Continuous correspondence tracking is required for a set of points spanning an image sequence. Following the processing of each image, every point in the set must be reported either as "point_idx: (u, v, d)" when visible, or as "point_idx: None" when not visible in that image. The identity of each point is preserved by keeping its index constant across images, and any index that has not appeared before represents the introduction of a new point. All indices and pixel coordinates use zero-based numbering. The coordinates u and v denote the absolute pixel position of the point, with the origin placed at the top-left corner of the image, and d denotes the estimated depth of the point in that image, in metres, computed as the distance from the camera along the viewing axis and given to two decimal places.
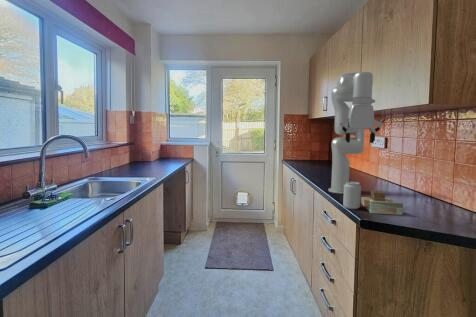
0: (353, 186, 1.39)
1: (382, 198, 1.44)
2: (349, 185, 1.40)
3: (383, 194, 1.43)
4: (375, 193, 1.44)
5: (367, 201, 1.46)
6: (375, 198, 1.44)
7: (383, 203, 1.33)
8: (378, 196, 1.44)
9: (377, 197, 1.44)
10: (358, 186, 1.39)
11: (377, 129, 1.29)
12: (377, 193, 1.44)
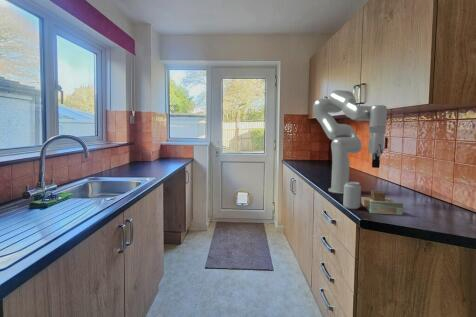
0: (353, 186, 1.39)
1: (382, 198, 1.44)
2: (349, 185, 1.40)
3: (383, 194, 1.43)
4: (375, 193, 1.44)
5: (367, 201, 1.46)
6: (375, 198, 1.44)
7: (383, 203, 1.33)
8: (378, 196, 1.44)
9: (377, 197, 1.44)
10: (358, 186, 1.39)
11: None
12: (377, 193, 1.44)
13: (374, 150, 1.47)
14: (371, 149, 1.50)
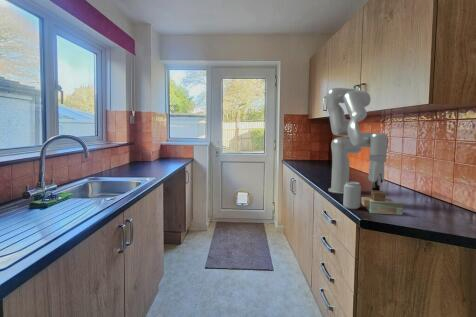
0: (353, 186, 1.39)
1: (382, 198, 1.43)
2: (349, 185, 1.40)
3: (383, 194, 1.43)
4: (375, 193, 1.43)
5: (367, 201, 1.46)
6: (375, 198, 1.44)
7: (383, 203, 1.33)
8: (378, 196, 1.43)
9: (377, 197, 1.43)
10: (358, 186, 1.39)
11: None
12: (377, 193, 1.43)
13: (374, 179, 1.45)
14: (371, 177, 1.48)
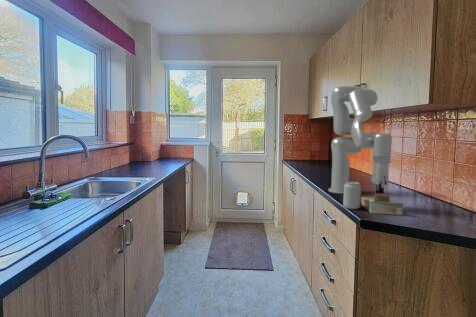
0: (353, 186, 1.39)
1: (386, 201, 1.37)
2: (349, 185, 1.40)
3: (387, 197, 1.37)
4: (379, 196, 1.37)
5: (367, 201, 1.46)
6: (379, 201, 1.38)
7: (383, 203, 1.33)
8: (382, 199, 1.37)
9: (381, 200, 1.37)
10: (358, 186, 1.39)
11: None
12: (381, 196, 1.37)
13: (378, 181, 1.39)
14: (375, 180, 1.42)
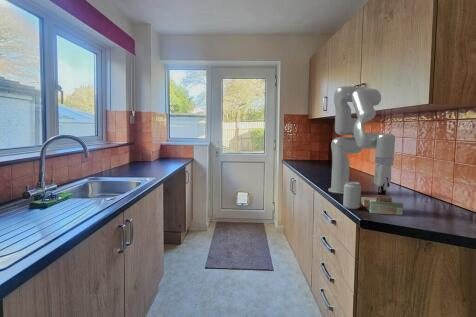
0: (353, 186, 1.39)
1: None
2: (349, 185, 1.40)
3: (389, 199, 1.33)
4: (381, 198, 1.34)
5: (367, 201, 1.46)
6: None
7: (383, 203, 1.33)
8: (384, 201, 1.34)
9: None
10: (358, 186, 1.39)
11: None
12: (383, 198, 1.34)
13: (380, 183, 1.35)
14: (377, 181, 1.38)
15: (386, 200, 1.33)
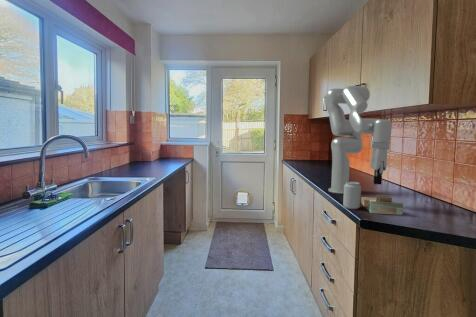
0: (353, 186, 1.39)
1: None
2: (349, 185, 1.40)
3: (389, 199, 1.33)
4: (381, 198, 1.34)
5: (367, 201, 1.46)
6: None
7: (383, 203, 1.33)
8: (384, 201, 1.34)
9: None
10: (358, 186, 1.39)
11: None
12: (383, 198, 1.34)
13: (376, 167, 1.41)
14: (373, 165, 1.44)
15: (386, 200, 1.33)
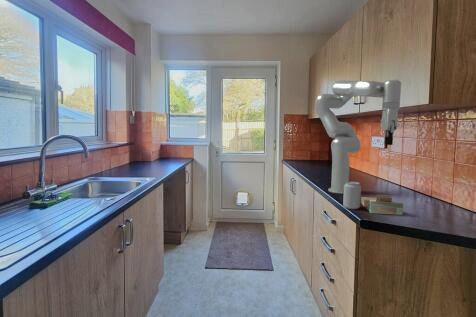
0: (353, 186, 1.39)
1: None
2: (349, 185, 1.40)
3: (389, 199, 1.33)
4: (381, 198, 1.34)
5: (367, 201, 1.46)
6: None
7: (383, 203, 1.33)
8: (384, 201, 1.34)
9: None
10: (358, 186, 1.39)
11: None
12: (383, 198, 1.34)
13: (388, 126, 1.43)
14: (384, 126, 1.46)
15: (386, 200, 1.33)
